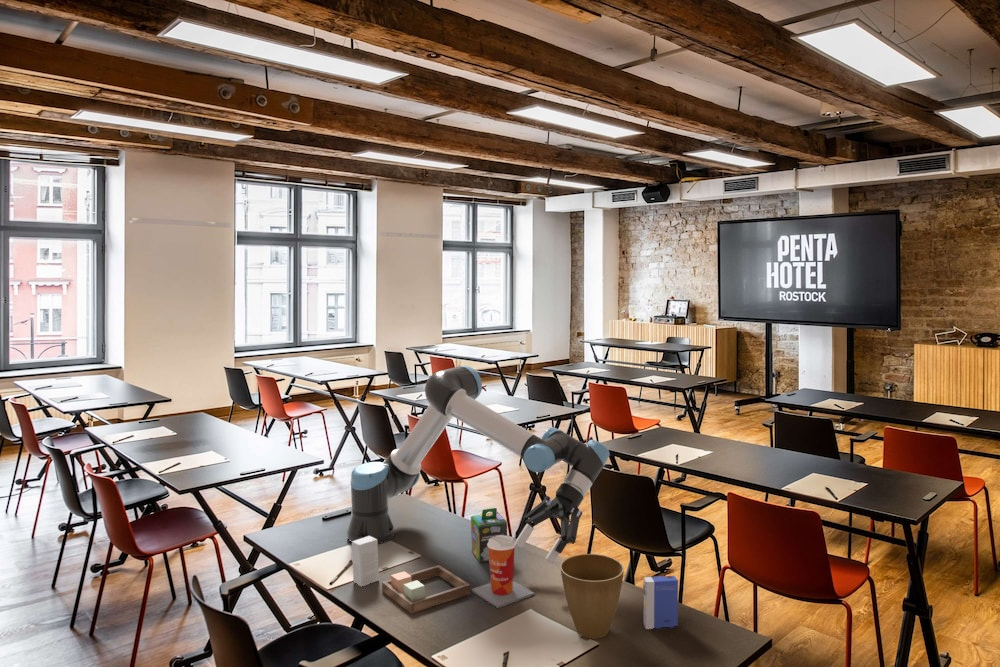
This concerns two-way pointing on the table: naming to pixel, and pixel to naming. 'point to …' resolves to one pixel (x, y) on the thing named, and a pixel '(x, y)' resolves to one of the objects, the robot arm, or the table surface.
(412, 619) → the table surface
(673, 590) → the blue carton
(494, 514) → the chalk box
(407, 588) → the sage block
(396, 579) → the terracotta block
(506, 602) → the grey pad
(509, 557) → the paper cup
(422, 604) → the walnut frame
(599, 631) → the plant pot
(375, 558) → the skincare box
